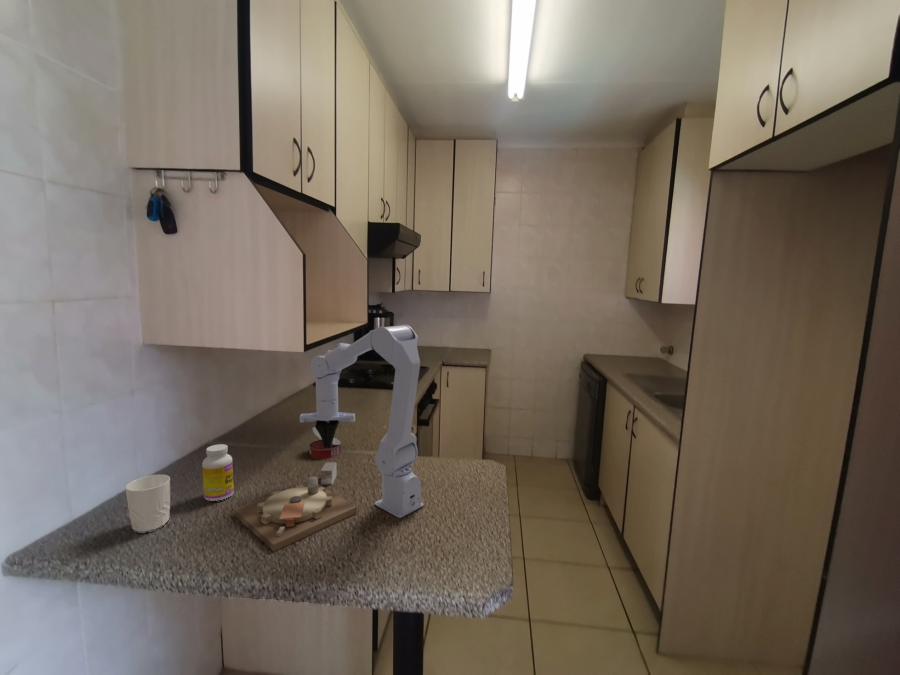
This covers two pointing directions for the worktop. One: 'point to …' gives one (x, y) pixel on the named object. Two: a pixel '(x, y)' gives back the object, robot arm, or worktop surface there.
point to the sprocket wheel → (295, 504)
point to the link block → (328, 473)
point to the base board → (282, 535)
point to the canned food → (321, 452)
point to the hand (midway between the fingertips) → (328, 447)
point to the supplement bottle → (217, 473)
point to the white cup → (149, 502)
